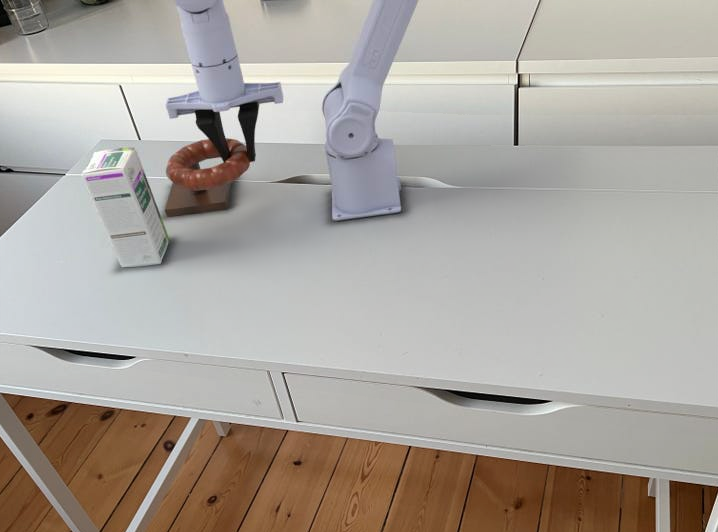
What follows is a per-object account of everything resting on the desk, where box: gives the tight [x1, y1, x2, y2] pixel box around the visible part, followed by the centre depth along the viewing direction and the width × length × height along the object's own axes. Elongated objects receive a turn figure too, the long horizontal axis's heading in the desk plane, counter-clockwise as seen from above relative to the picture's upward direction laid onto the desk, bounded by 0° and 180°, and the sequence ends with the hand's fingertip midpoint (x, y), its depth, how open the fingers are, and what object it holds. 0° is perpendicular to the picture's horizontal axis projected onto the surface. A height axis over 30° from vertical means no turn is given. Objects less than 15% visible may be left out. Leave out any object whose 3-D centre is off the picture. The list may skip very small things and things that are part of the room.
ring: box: [165, 137, 251, 191], centre depth 103 cm, size 11×11×3 cm
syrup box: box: [80, 147, 170, 268], centre depth 101 cm, size 6×6×14 cm
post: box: [164, 162, 233, 218], centre depth 114 cm, size 9×9×7 cm
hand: (240, 160), depth 103 cm, fingers closed on ring, 3 cm apart
